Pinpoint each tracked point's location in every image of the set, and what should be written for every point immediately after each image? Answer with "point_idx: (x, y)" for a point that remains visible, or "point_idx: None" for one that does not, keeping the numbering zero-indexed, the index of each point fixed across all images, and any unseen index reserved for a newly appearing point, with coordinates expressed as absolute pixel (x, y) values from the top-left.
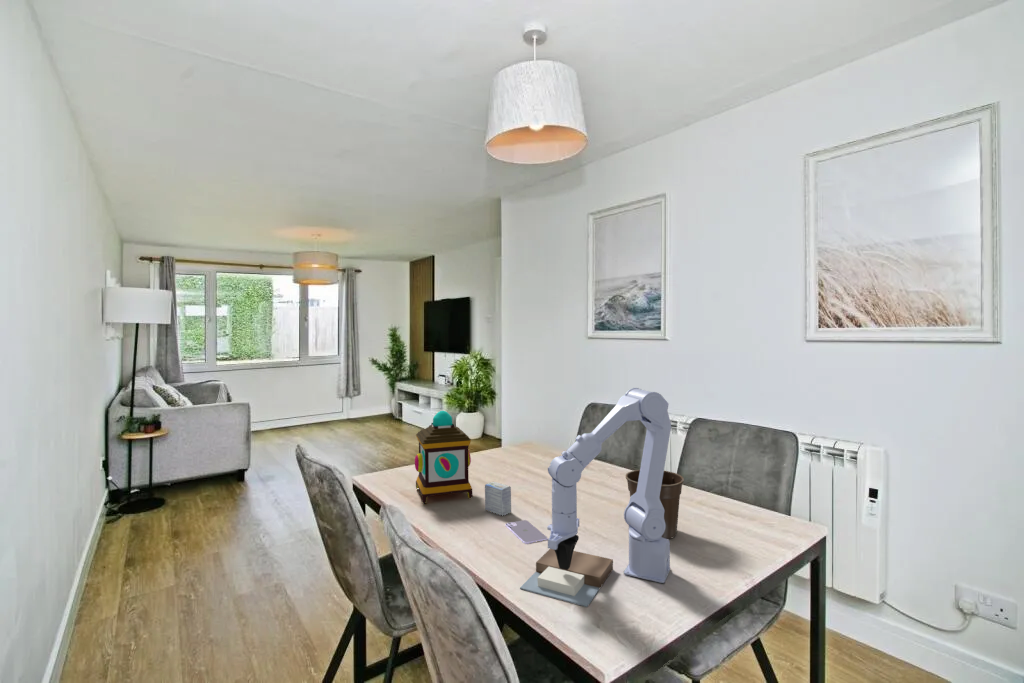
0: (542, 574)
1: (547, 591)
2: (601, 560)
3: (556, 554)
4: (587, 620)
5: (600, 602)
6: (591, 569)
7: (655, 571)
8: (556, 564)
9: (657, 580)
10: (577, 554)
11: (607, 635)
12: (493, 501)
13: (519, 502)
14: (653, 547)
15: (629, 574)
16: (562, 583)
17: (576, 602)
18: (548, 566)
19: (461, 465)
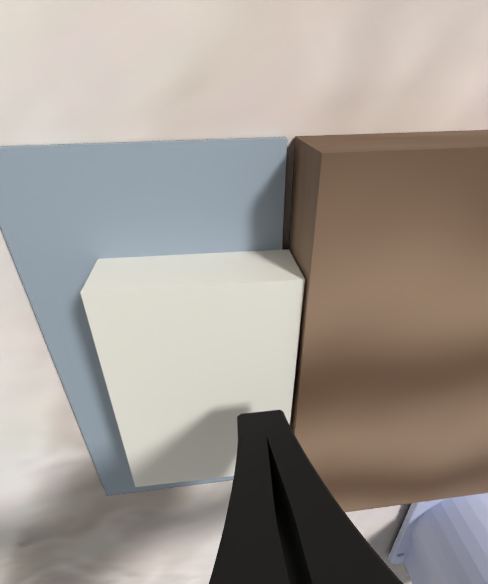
0: (153, 299)
1: (85, 337)
2: (468, 470)
3: (223, 534)
4: (25, 517)
5: (175, 500)
6: (354, 475)
7: (420, 576)
8: (346, 322)
9: (393, 555)
10: None
11: (2, 568)
12: None
13: None
14: None
15: (415, 503)
16: (129, 438)
17: (98, 465)
18: (303, 279)
19: None
